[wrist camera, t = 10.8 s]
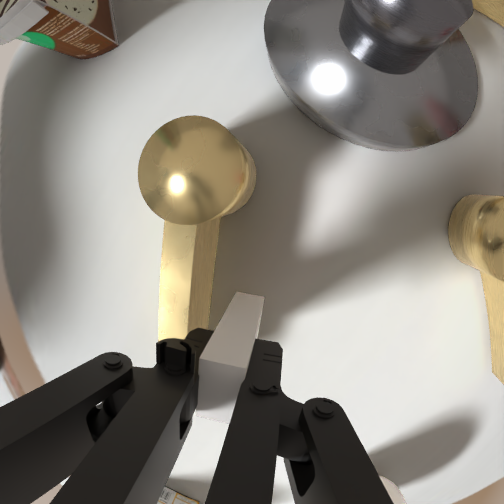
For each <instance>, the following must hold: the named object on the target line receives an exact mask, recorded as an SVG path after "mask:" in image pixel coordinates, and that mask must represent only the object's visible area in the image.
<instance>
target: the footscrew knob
mask: <svg viewBox="0 0 504 504" xmlns="http://www.w3.org/2000/svg"><path fill="white" fill-rule="evenodd" d="M256 177H257V175H256V167H255V163H254V160H253V158H252V156H251V155H250V153H249V152H248V151H247V150H246V148H245V147H244V146H243V145H242V144H241V143H240V142H239V141H238V140H237V139H236V138H235V137H234V136H233V135H232V134H231V133H230V132H229V131H228V130H227V129H226V128H225V127H224V126H222V125H221V124H220V123H218V122H216V121H215V120H212V119H210V118H206V117H202V116H185V117H180V118H177V119H174V120H172V121H170V122H168V123H166V124H164V125H163V126H162V127H160V128H159V129H158V130H157V131H156V132H155V133H154V134H153V135H152V136H151V137H150V139H149V140H148V142H147V143H146V145H145V147H144V149H143V151H142V154H141V157H140V161H139V165H138V181H139V187H140V190H141V193H142V196H143V198H144V200H145V201H146V203H147V205H148V206H149V207H150V209H151V210H152V211H153V212H154V213H155V214H157V215H158V216H159V217H161V218H162V219H164V220H165V222H164V233H163V245H162V258H161V274H160V294H159V341H160V340H163V339H167V338H178V339H183V340H184V339H185V337H186V336H187V334H188V333H189V332H190V331H192V330H194V329H196V328H203V329H207V330H208V323H209V314H210V304H211V295H212V286H213V277H214V268H215V260H216V252H217V244H218V236H219V228H220V220H221V217H222V216H226V215H229V214H231V213H234V212H236V211H237V210H239V209H240V208H241V207H243V206H244V205H245V204H246V202H247V201H248V200H249V199H250V197H251V195H252V193H253V191H254V188H255V184H256Z"/></svg>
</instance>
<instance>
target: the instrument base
mask: <svg viewBox="0 0 504 504" xmlns="http://www.w3.org/2000/svg"><path fill="white" fill-rule="evenodd" d="M473 8H474V9H476V10H478V11H479V12H481V13H483V14H484V15H486V16H487V17H489V18H491V19H492V20H494V21H495V22H497V23H498V24H500V25H501V26H503V27H504V0H271V2H270V4H269V6H268V8H267V11H266V15H265V21H264V34H265V42H266V47H267V52H268V57H269V61H270V65H271V68H272V70H273V72H274V75H275V77H276V79H277V81H278V83H279V84H280V86H281V88H282V89H283V91H284V92H285V93H286V95H287V96H288V97H289V98H290V100H291V101H292V102H293V103H294V104H295V105H296V106H297V107H298V108H299V109H300V110H301V111H302V112H303V113H304V114H305V115H306V116H308V117H309V118H310V119H311V120H312V121H314V122H315V123H316V124H318V125H319V126H321V127H322V128H324V129H325V130H327V131H329V132H331V133H332V134H334V135H336V136H338V137H340V138H342V139H344V140H347V141H349V142H351V143H354V144H357V145H360V146H363V147H367V148H371V149H376V150H381V151H395V152H398V151H410V150H415V149H419V148H423V147H426V146H429V145H432V144H434V143H437V142H440V141H442V140H445V139H447V138H449V137H451V136H452V135H454V134H455V133H457V132H458V131H459V130H460V129H461V128H462V127H463V126H464V125H465V124H466V122H467V121H468V119H469V118H470V116H471V114H472V112H473V110H474V107H475V104H476V100H477V92H478V78H477V72H476V66H475V63H474V60H473V56H472V54H471V51H470V49H469V47H468V44H467V42H466V41H465V39H464V37H463V35H462V34H461V32H460V31H459V29H458V28H459V27H460V26H461V25H462V24H463V23H464V22H465V21H466V20H468V19H469V18H470V16H471V15H472V13H473Z"/></svg>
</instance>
